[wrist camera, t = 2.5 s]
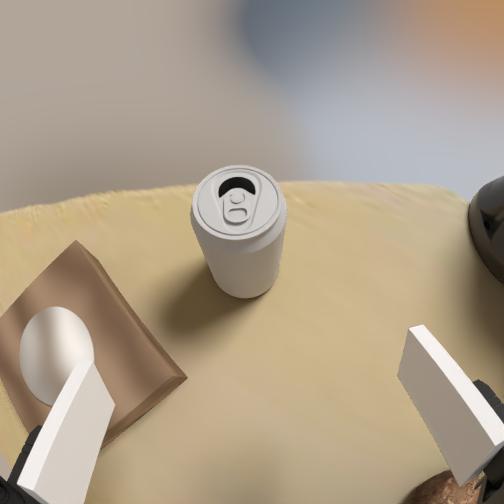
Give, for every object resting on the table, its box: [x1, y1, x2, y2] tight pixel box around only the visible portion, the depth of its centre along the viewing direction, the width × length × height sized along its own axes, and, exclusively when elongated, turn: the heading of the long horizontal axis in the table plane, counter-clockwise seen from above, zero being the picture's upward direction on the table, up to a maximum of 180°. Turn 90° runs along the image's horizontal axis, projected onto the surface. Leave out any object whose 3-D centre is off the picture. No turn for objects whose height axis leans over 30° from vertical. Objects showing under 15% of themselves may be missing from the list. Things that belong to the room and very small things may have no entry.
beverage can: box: [190, 165, 287, 298], centre depth 24 cm, size 6×6×12 cm
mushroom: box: [411, 470, 481, 504], centre depth 16 cm, size 8×8×6 cm
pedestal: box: [0, 240, 188, 450], centre depth 23 cm, size 16×16×5 cm
